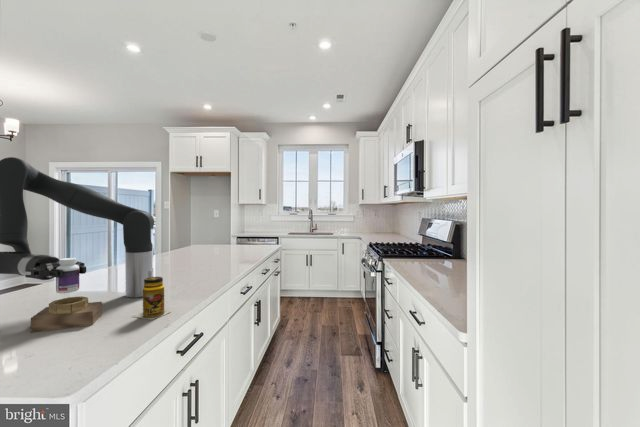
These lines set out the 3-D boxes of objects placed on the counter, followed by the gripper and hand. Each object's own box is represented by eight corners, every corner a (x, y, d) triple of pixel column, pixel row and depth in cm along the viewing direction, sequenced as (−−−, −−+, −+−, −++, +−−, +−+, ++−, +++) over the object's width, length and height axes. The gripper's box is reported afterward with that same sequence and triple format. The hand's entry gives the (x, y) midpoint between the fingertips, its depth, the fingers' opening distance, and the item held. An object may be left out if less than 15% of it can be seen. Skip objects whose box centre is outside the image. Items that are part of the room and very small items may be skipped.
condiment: (153, 320, 92) (152, 281, 92) (132, 317, 95) (131, 279, 95) (171, 312, 99) (171, 276, 99) (151, 309, 102) (151, 274, 101)
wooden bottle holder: (101, 313, 97) (101, 293, 97) (92, 324, 88) (92, 302, 88) (46, 319, 92) (46, 298, 92) (30, 332, 83) (30, 309, 82)
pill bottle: (83, 289, 91) (83, 258, 91) (63, 294, 86) (63, 261, 86) (71, 287, 93) (71, 256, 93) (51, 292, 88) (51, 259, 88)
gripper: (9, 258, 88) (44, 263, 82) (66, 251, 101) (99, 255, 95) (9, 283, 88) (43, 290, 82) (65, 273, 102) (99, 279, 95)
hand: (73, 271), depth 89 cm, fingers closed on pill bottle, 5 cm apart
